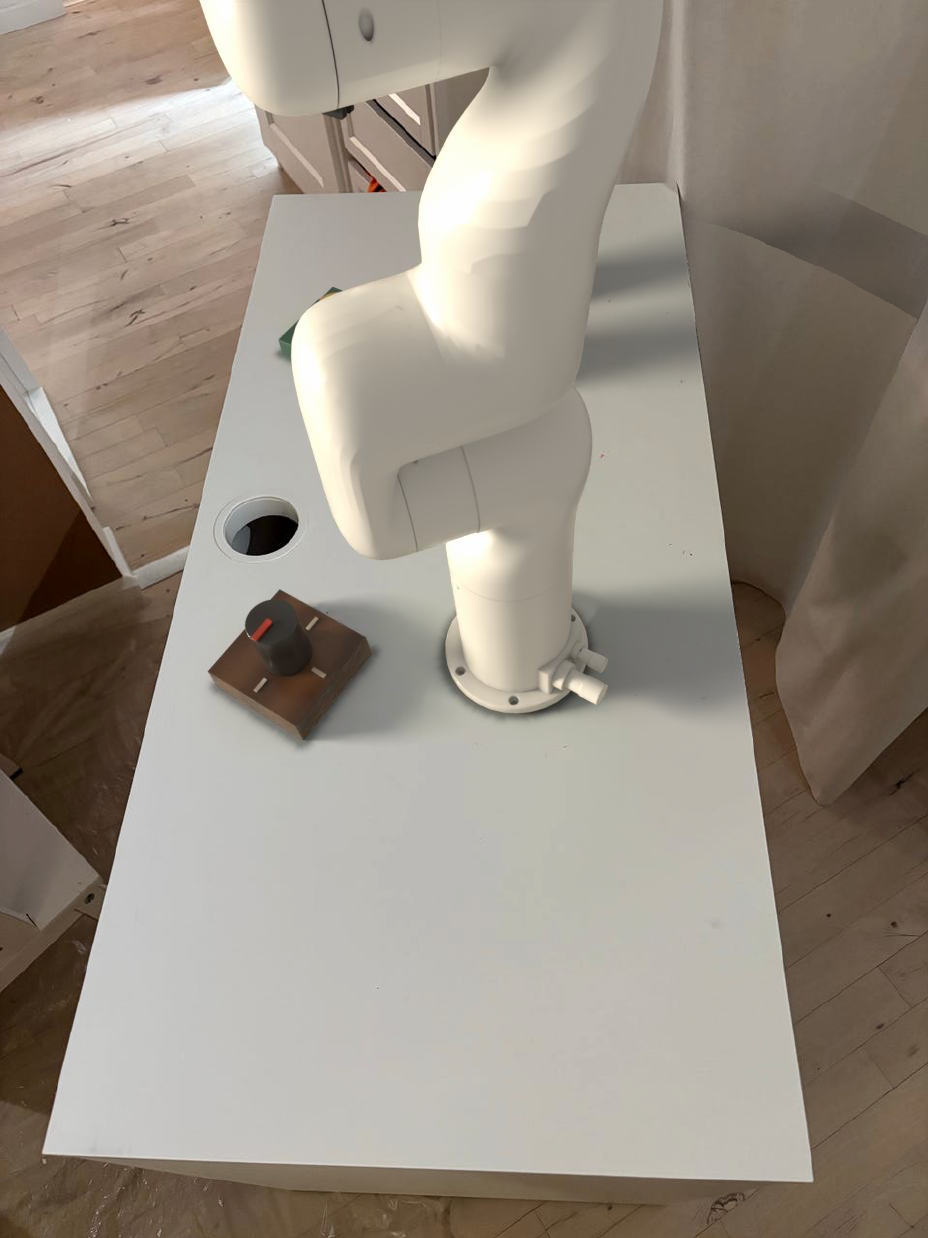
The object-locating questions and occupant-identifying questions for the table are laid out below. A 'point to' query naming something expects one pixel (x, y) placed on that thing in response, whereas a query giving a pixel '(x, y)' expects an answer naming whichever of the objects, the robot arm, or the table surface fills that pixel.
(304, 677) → the dial base
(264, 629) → the dial
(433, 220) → the robot arm
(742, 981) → the table surface
